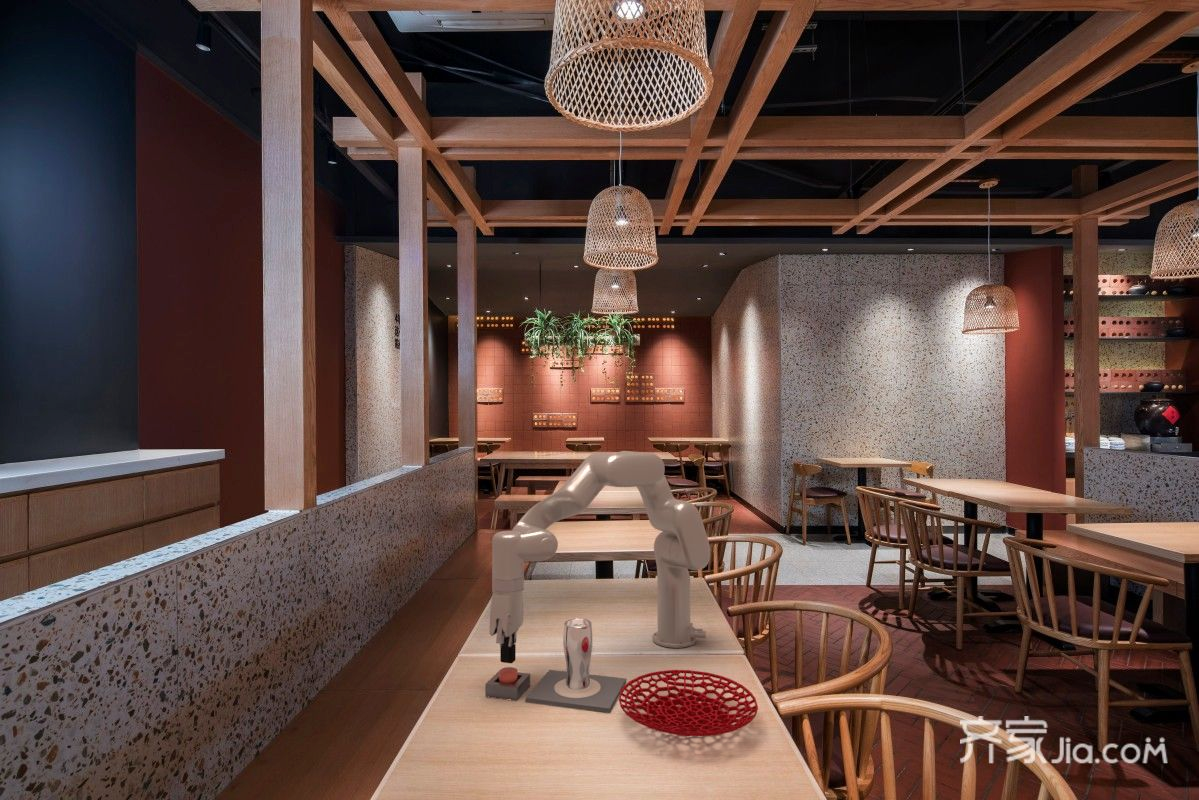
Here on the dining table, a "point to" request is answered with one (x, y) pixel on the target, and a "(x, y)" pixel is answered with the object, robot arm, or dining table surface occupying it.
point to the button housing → (507, 687)
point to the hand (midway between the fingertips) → (508, 661)
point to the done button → (508, 675)
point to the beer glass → (577, 653)
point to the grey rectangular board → (592, 699)
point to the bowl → (688, 704)
